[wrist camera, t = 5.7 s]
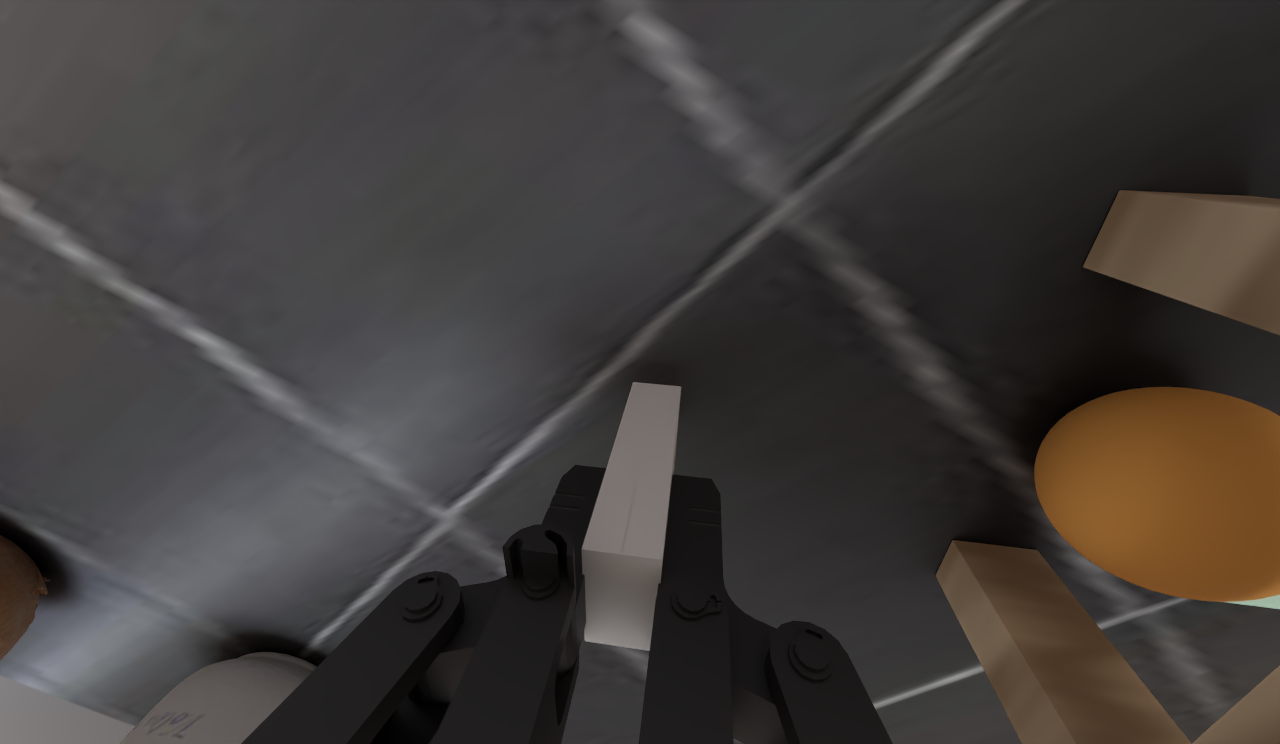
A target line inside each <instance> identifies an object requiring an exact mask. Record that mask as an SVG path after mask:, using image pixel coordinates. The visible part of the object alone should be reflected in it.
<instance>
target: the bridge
mask: <svg viewBox="0 0 1280 744" xmlns="http://www.w3.org/2000/svg"><path fill="white" fill-rule="evenodd" d="M1083 267H1084V268H1087V269H1089V270H1092V271H1095V272H1098V273H1101V274H1104V275H1107V276H1110V277H1113V278H1115V279H1118V280H1121V281H1124V282H1127V283H1130V284H1133V285H1136V286H1139V287H1141V288H1144V289H1147V290H1150V291H1153V292H1156V293H1159V294H1162V295H1165V296H1167V297H1170V298H1173V299H1176V300H1179V301H1182V302H1185V303H1188V304H1191V305H1193V306H1196V307H1199V308H1202V309H1205V310H1208V311H1211V312H1214V313H1217V314H1219V315H1222V316H1225V317H1228V318H1231V319H1234V320H1237V321H1240V322H1243V323H1245V324H1248V325H1251V326H1254V327H1257V328H1260V329H1263V330H1266V331H1269V332H1271V333H1274V334H1277V335H1280V199H1274V198H1264V197H1255V196H1239V195H1216V194H1194V193H1172V192H1150V191H1127V190H1119V192H1118V194H1117V196H1116V199H1115V201H1114V203H1113V205H1112V207H1111V209H1110V211H1109V213H1108V215H1107V217H1106V219H1105V222H1104V224H1103V226H1102V228H1101V230H1100V232H1099V234H1098V236H1097V238H1096V240H1095V243H1094V245H1093V247H1092V249H1091V251H1090V253H1089V255H1088V257H1087V259H1086V261H1085V263H1084V266H1083ZM936 578H937V580H938V582H939V584H940V586H941V588H942V590H943V591H944V593H945V595H946V597H947V599H948V601H949V603H950V605H951V607H952V609H953V611H954V613H955V615H956V617H957V619H958V620H959V622H960V624H961V626H962V628H963V630H964V632H965V634H966V636H967V638H968V640H969V642H970V644H971V646H972V647H973V649H974V651H975V653H976V655H977V657H978V659H979V661H980V663H981V665H982V667H983V669H984V671H985V673H986V674H987V676H988V678H989V680H990V682H991V684H992V686H993V688H994V690H995V692H996V694H997V696H998V698H999V700H1000V702H1001V703H1002V705H1003V707H1004V709H1005V711H1006V713H1007V715H1008V717H1009V719H1010V721H1011V723H1012V725H1013V727H1014V729H1015V730H1016V732H1017V734H1018V736H1019V738H1020V740H1021V742H1022V744H1191V742H1190V741H1189V740H1188V739H1187V737H1186V736H1185V735H1184V734H1183V732H1182V731H1181V730H1180V729H1179V727H1178V726H1177V725H1176V724H1175V722H1174V721H1173V720H1172V719H1171V717H1170V716H1169V715H1168V714H1167V712H1166V711H1165V710H1164V708H1163V707H1162V706H1161V705H1160V703H1159V702H1158V701H1157V700H1156V698H1155V697H1154V696H1153V695H1152V693H1151V692H1150V691H1149V690H1148V688H1147V687H1146V686H1145V685H1144V683H1143V682H1142V681H1141V680H1140V678H1139V677H1138V676H1137V675H1136V673H1135V672H1134V671H1133V670H1132V668H1131V667H1130V666H1129V665H1128V663H1127V662H1126V661H1125V660H1124V658H1123V657H1122V656H1121V655H1120V653H1119V652H1118V651H1117V650H1116V648H1115V647H1114V646H1113V645H1112V643H1111V642H1110V641H1109V640H1108V638H1107V637H1106V636H1105V634H1104V633H1103V632H1102V631H1101V629H1100V628H1099V627H1098V626H1097V624H1096V623H1095V622H1094V621H1093V619H1092V618H1091V617H1090V616H1089V614H1088V613H1087V612H1086V611H1085V609H1084V608H1083V607H1082V606H1081V604H1080V603H1079V602H1078V601H1077V599H1076V598H1075V597H1074V596H1073V594H1072V593H1071V592H1070V591H1069V589H1068V588H1067V587H1066V586H1065V584H1064V583H1063V582H1062V581H1061V579H1060V578H1059V577H1058V576H1057V574H1056V573H1055V572H1054V571H1053V569H1052V568H1051V567H1050V566H1049V564H1048V563H1047V562H1046V560H1045V559H1044V558H1043V557H1042V555H1041V554H1040V553H1039V552H1038V550H1032V549H1024V548H1016V547H1007V546H999V545H991V544H982V543H974V542H965V541H957V540H952V542H951V544H950V546H949V548H948V550H947V553H946V555H945V557H944V559H943V561H942V563H941V565H940V567H939V569H938V571H937V573H936ZM1192 744H1280V666H1279V667H1277V668H1276V669H1275V670H1274V671H1273V672H1272V673H1271V674H1270V675H1268V676H1267V677H1266V678H1265V679H1264V680H1263V681H1262V682H1261V683H1259V684H1258V685H1257V686H1256V687H1255V688H1254V689H1253V690H1252V691H1250V692H1249V693H1248V694H1247V695H1246V696H1245V697H1244V698H1243V699H1241V700H1240V701H1239V702H1238V703H1237V704H1236V705H1235V706H1234V707H1232V708H1231V709H1230V710H1229V711H1228V712H1227V713H1226V714H1225V715H1223V716H1222V717H1221V718H1220V719H1219V720H1218V721H1217V722H1216V723H1214V724H1213V725H1212V726H1211V727H1210V728H1209V729H1208V730H1207V731H1205V732H1204V733H1203V734H1202V735H1201V736H1200V737H1199V738H1198V739H1196V740H1195V741H1194V742H1193V743H1192Z"/></svg>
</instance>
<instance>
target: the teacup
mask: <svg viewBox="0 0 1280 744" xmlns="http://www.w3.org/2000/svg"><path fill="white" fill-rule="evenodd" d="M316 668H317V666H315V665H313V664H311V663H309V662H307V661H305V660H303V659H300V658H297V657H294V656H291V655H286V654H282V653H276V652H257V653H251V654H247V655H244V656H241V657H239V658H236V659H230V660H225V661H221V662H218V663H214V664H211V665H209V666H206V667H204V668H202V669H200V670H198V671H197V672H195V673H193V674H192V675H190V676H189V677H187V678H186V679H185V680H183V681H182V682H181V683H180V684H179V685H177V686H176V687H175V688H174V689H173V690H172V691H171V692H169V693H168V694H167V695H166V696H165V697H164V698H163V699H162V700H161V701H160V702H159V703H158V704H157V705H156V706H155V707H154V708H153V709H152V710H151V711H150V712H149V713H148V714H147V715H146V716H145V717H144V718H143V719H142V720H141V721H140V723H139V724H138V725H137V726H136V727H135V728H134V729H133V730H132V731H131V732H130V733H129V734H128V735H127V736H126V737H125V738H124V739H123V741H122V742H121V743H120V744H241V743H242V742H243V741H244V740H245V739H246V738H247V737H248V736H249V735H250V734H251V733H252V732H253V731H254V730H255V729H256V728H257V727H258V726H259V725H260V724H261V723H262V722H263V721H264V720H265V719H266V718H267V717H268V716H269V715H270V714H271V713H272V712H273V711H274V710H275V709H276V708H277V707H278V706H279V705H280V704H281V703H282V702H283V701H284V700H285V699H286V698H287V697H288V696H289V695H290V694H291V693H292V692H293V691H294V690H295V689H296V688H297V687H298V686H299V685H300V684H301V683H302V682H303V681H304V680H305V679H306V678H307V677H308V676H309V675H310V674H311V673H312V672H313V671H314V670H315V669H316Z"/></svg>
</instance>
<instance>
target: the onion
mask: <svg viewBox="0 0 1280 744" xmlns="http://www.w3.org/2000/svg"><path fill="white" fill-rule="evenodd" d="M46 578H47V577H42V575H41V573H40V571H39V569H38V567H37V566H36V564H35V563H34V561H33V560H32V559H31V558H30V557H29V556H28V555H27V553H26V552H24V551H23V550H22V549H21V548H20V547H19V546H17V545H16V544H15V543H13V542H12V541H11V540H9V539H7V538H5V537H3V536H1V535H0V660H1V659H2V658H3V657H4V656H5V655H6V654H7V653H8V652H9V651H10V650H11V648H12V647H13V646H14V645H15V644H16V643H17V641H18V640H19V639H20V638H21V637H22V636H23V634H24V633H25V632H26V630H27V629H28V627H29V625H30V624H31V623H32V622H33V620H34V617H35V614H34V613H35V610H36V608H37V606H38V605H37V604H38V600H39V595H41V594H44V595H47V594H48V593H47V587H46V584H45V582H48V581H51V579H49V580H47V579H46Z"/></svg>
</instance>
